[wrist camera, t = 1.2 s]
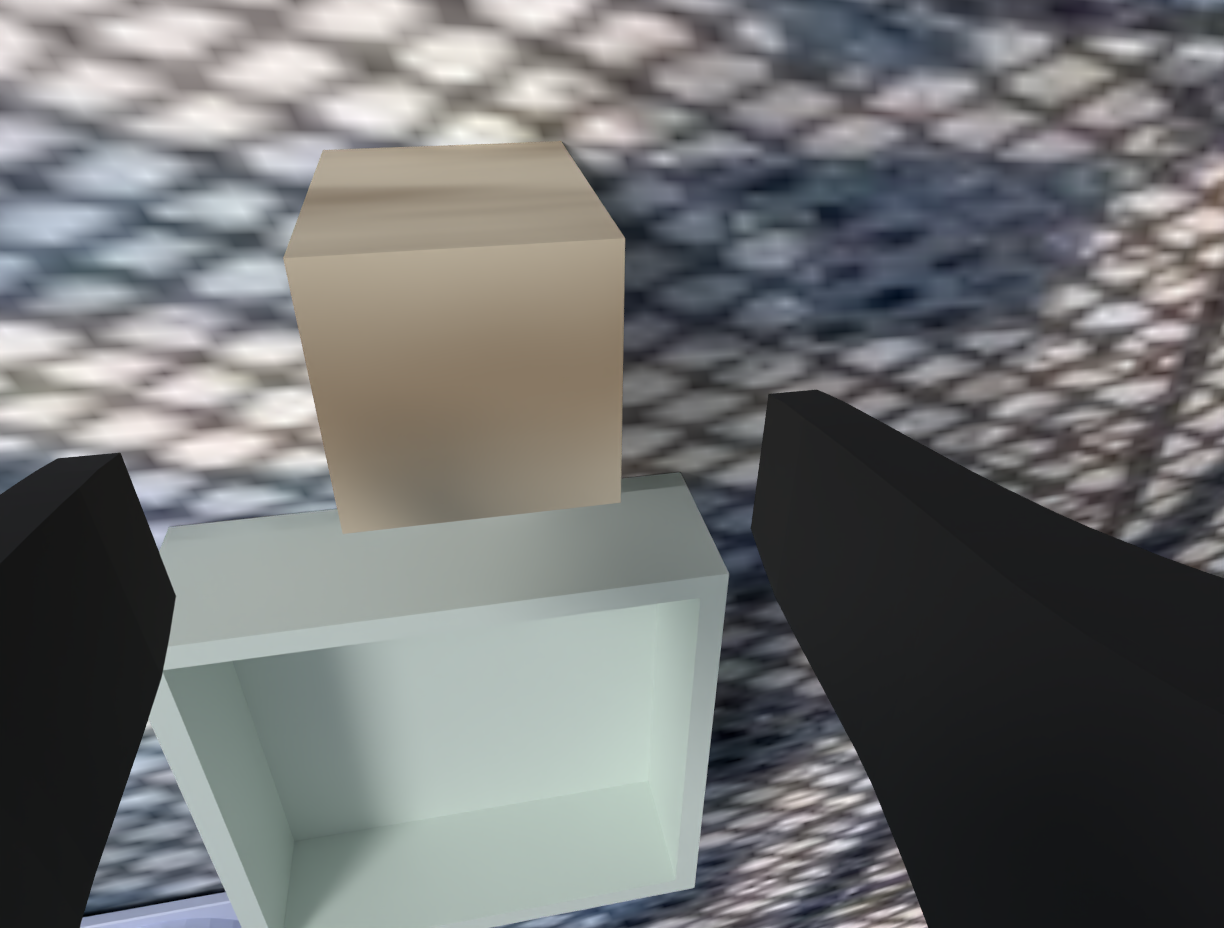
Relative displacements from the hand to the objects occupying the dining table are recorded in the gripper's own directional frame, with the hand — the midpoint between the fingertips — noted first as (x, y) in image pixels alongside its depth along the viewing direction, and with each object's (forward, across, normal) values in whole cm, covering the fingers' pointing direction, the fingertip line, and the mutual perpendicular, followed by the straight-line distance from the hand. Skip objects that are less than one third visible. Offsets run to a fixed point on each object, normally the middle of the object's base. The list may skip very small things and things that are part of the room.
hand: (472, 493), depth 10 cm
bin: (+9, +1, +12) cm, 15 cm away
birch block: (+9, 0, 0) cm, 9 cm away
